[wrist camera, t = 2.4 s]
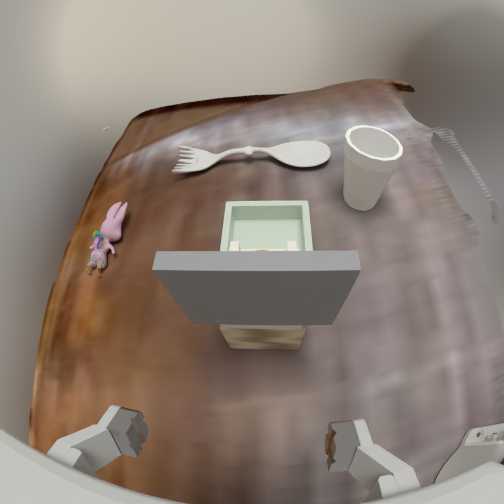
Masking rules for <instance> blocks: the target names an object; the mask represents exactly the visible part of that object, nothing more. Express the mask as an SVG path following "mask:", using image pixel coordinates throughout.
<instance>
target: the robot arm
mask: <svg viewBox="0 0 504 504" xmlns="http://www.w3.org/2000/svg"><path fill="white" fill-rule="evenodd" d="M143 418H144V415H143V413H142V412H140V411H137V410H132V409H128V408H124V407H120V406H116V405H111V406H110V407H109V408H108V410H107V411H106V413H105V414H104V415H103V417H102V418H101V420H100V421H99V423H98V424H97V425H92V426H90V427H87V428H85V429H83V430H80V431H78V432H76V433H73V434H71V435H68V436H66V437H63V438H61V439H58V440H57V441H56V442H55V444H54V445H53V446H52V448H51V449H50V450H49V451H48V453H47V454H46V455H45V454H44V453H42V452H40V451H38V450H36V449H35V448H33V447H31V446H29V445H28V444H26V443H24V442H23V441H21V440H20V439H18V438H16V437H15V436H13V435H12V434H10V433H9V432H7V431H6V430H4V429H3V428H1V427H0V504H188V503H182V502H177V501H172V500H168V499H163V498H159V497H155V496H151V495H147V494H143V493H140V492H136V491H133V490H130V489H126V488H123V487H120V486H117V485H114V484H111V483H109V482H106V481H103V480H100V478H99V477H98V476H97V474H96V473H95V471H97V470H98V469H100V468H102V467H103V466H105V465H106V464H108V463H109V462H111V461H112V460H114V459H115V458H117V457H118V456H120V455H121V454H124V455H128V456H132V457H136V458H137V457H138V455H139V453H140V451H141V449H142V446H141V444H142V443H143V442H145V441H146V439H147V436H148V427H147V424H146V423H145V422H144V421H143ZM477 433H478V436H477ZM325 451H326V454H327V455H328V459H327V464H328V471H329V472H339V471H348V472H349V473H350V474H351V475H352V476H353V477H354V478H355V479H356V480H357V481H358V482H359V483H360V484H361V485H363V486H364V487H365V488H366V489H367V490H368V491H369V492H370V494H369V495H368V497H367V498H366V500H365V501H364V503H358V504H504V423H500V424H494V425H489V426H483V427H476V428H471V429H469V430H468V431H467V433H466V434H465V436H464V438H463V440H462V442H461V445H460V447H459V448H458V449H457V451H456V452H455V453H454V454H453V455H452V456H451V457H450V458H449V460H448V461H447V462H446V463H445V465H444V466H443V468H442V469H441V471H440V473H439V474H438V476H437V478H436V480H435V483H434V484H431V485H428V486H425V487H422V488H421V487H420V484H419V482H418V479H417V477H416V474H415V472H414V469H413V468H412V467H411V466H409V465H408V464H406V463H404V462H403V461H401V460H400V459H398V458H397V457H395V456H394V455H392V454H391V453H389V452H388V451H386V450H385V449H383V448H382V447H380V446H379V445H377V444H373V442H372V439H371V436H370V433H369V430H368V427H367V425H366V422H365V420H364V419H356V420H347V421H339V422H330V423H329V425H328V434H326V438H325Z"/></svg>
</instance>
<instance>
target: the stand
mask: <svg viewBox="0 0 504 504" xmlns="http://www.w3.org/2000/svg"><path fill="white" fill-rule="evenodd" d="M219 329H220V331H221V333H222V334H223V336H224V337H225V339H226V341H227V342H228V344H229V346H230V347H231V348H236V349H299V347H300V345H301V342H302V339H303V336H304V333H305V330H306V325H302V327H301V329H241V328H223V326H222V325H221V324H219Z"/></svg>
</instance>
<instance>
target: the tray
mask: <svg viewBox="0 0 504 504" xmlns="http://www.w3.org/2000/svg"><path fill="white" fill-rule="evenodd" d="M230 241H239V242H240V247H241V249H287V241H296V245H297V249H299V251H313V248H312V237H311V226H310V216H309V207H308V201H236V202H226V209H225V216H224V224H223V231H222V239H221V247H220V251H228V250H229V249H230Z"/></svg>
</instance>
